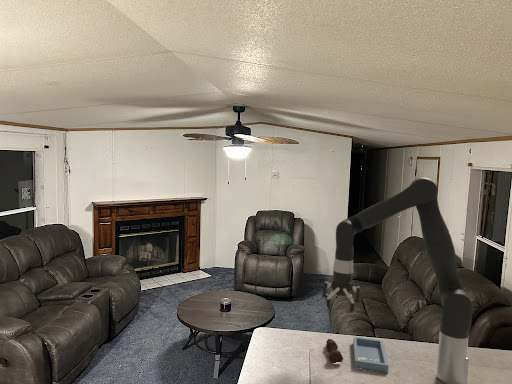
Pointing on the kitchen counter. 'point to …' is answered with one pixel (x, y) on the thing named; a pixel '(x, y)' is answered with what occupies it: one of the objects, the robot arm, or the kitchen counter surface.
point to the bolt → (333, 351)
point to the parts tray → (370, 354)
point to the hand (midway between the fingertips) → (339, 309)
